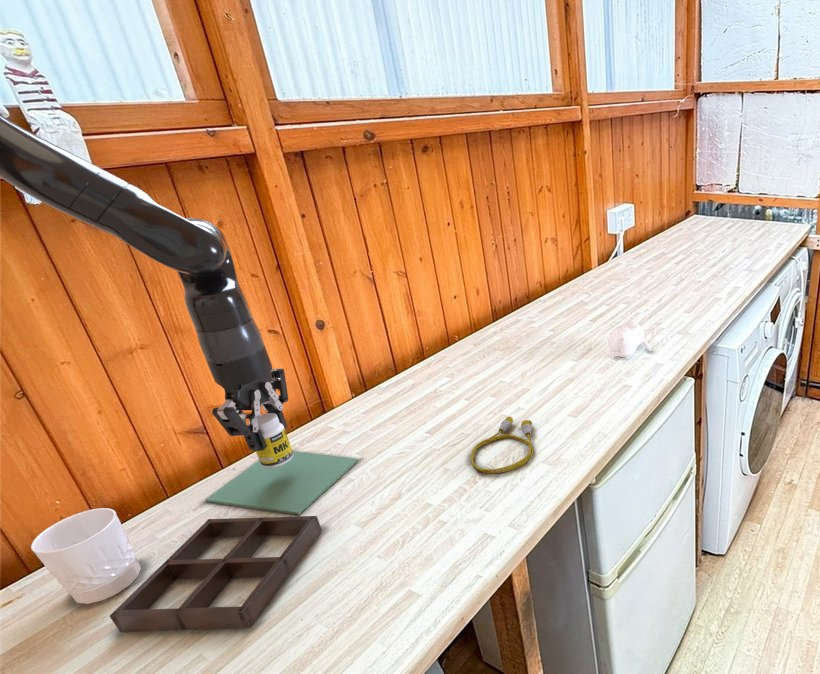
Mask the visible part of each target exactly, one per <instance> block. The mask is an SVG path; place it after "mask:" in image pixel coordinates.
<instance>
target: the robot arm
mask: <svg viewBox="0 0 820 674" xmlns="http://www.w3.org/2000/svg"><path fill="white" fill-rule="evenodd" d="M0 178H1V179H2V180H3V181H6V182H7V183H8V184H10V185H12V186H13V187H15V188H16V189H18V190H20V191H22V192H23V193H25V194H27V195H29V196H30V197H32V198H34V199H36V200H38V201H39V202H40V203H43V204H44V205H47V206H49V207H50V208H53V209H54V210H57V211H59V212H61V213H63V214H65V215H67V216H69V217H72V218H74V219H76V220H77V221H80V222H82V223H85V224H87V225H89V226H91V227H94V228H95V229H98V230H100V231H103V232H104V233H107V234H110V235H112V236H114V237H116V238H118V239H119V240H121V241H122V242H124V243H125V244H127V245H128V246H129V247H131V248H133V249H135V250H137V252H140V253H141V254H143V255H145V256H147V257H148V258H150V259H151V260H153V261H155V262H157V263H159V264H160V265H163V266H165V267H166V268H168V269H172V270H174V271H176V272H177V274H178V277H179V279H180V282H181V284H182V287H183V289H184V302H185V306H186V310H187V312H188V314H189V317H190V320H191V322H192V324H193V327H194V329H195V332H196V336H197V341H198V344H199V347H200V349H201V352H202V355H203V356H204V359H205V361H206V364H207V366H208V368H209V371H210V374H211V375H212V379H213V381H214V383H216V385H218V386H220V387H221V388H222V389H223V390H224V400H225V401H224V402H223V404H222V405H221V406H219V407H213V408H212V410H211V414H212V416H214V418H215V419H216V420H217V421H218V423H219V424H220V425H221V427H222V428H223V429H224V430H225V432H226V433H227V434H228V435H229V436H230V437H240V436H241V437H244V441H245V443H246V445H247V447H248V449H249V450H250V451H252V452H256V451H263V450H264V449H265V448H266V447H267V445H266V443H265V440H264V437H263V435H262V432H261V430H260V429H259V424H258V417H260V415H262V413H261V408H262V409H263V411H265V412H266V413H275V414H276V415H277V417H278V419H279V423H281V424H283V426H284V428H285V431H286V430H287V429H288V426H287V421H286V420H287V419H286V418H285V415H284V413H283V409H284V403H287V402H288V401H289V393H288V387H287V380H286V373H285V369H284V368H273V364H272V362H271V359H270V355H269V352H268V351H267V347H266V345H265V342H264V339H263V336H262V334H261V330H260V329H259V327H258V325H257V323H256V321H255V319H254V318H253V315H252V312H251V310H250V306H249V304H248V301H247V298H246V295H245V294H244V291H243V289H242V287H241V284H240V283H239V279H238V275H237V272H236V267H235V262H234V260H233V257H232V253H231V249H230V247H229V243H228V240H227V238H226V236H225V235H224V232H223V231H222V230H221V229H220V228H219V227H218V226H216V225H215V224H213V223H212V222H210V221H209V220H206V219H202V218H198V217H186V218H185V217H183V216H181V215H179V214H177V213H176V212H173V211H172V210H170V209H168V208H167V207H164V206H162V205H160V204H158V203H157V202H156V201H155V200H154V199H153V198H152V197H151V196H150V194H148V193H146V192H145V191H143V190H142V189H141V188H139V187H137V186H136V185H134V184H131V183H129V182H128V181H126V180H124V179H122V178H121V177H118V176H117V175H115V174H113V173H111V172H109V171H107V170H106V169H104V168H102V167H99V166H98V165H96V164H94V163H92V162H90V161H88V160H86V159H84V158H82V157H80V156H78V155H76V154H74V153H72V152H70V151H68V150H67V149H65V148H63V147H60V146H59V145H56V144H54V143H53V142H51V141H48V140H46V139H44V138H42V137H41V136H39V135H37V134H34V133H33V132H31V131H28V130H27V129H25V128H23V127H21V126H19V125H17V124H16V123H14V122H12V121H10V120H9V119H7V118H5V117H4V116H2V115H0ZM277 390H278V391H279V394H278V393H277ZM244 411H251V412H244ZM247 420H249V421H250V425H249V424H247Z"/></svg>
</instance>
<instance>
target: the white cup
mask: <svg viewBox="0 0 820 674" xmlns="http://www.w3.org/2000/svg"><path fill="white" fill-rule="evenodd" d="M30 549H31V551H32V552H33V554H34V555H35V556H36V557H37V559H38V560H39V561H40V562H41V563H42V564H43V566H44V567H45V569H46V570H47V572H49V573H50V575H52V577H53V578H54V579H55V580H56V582H58V584H59V585H60V586H61V587H62V588H63V589H65V590H66V591H67V592H68V593H69V595H70V596H71V597H72V598H73V600H74V601H75V602H76V604H83V605H84V604H85V605H90V604H94V603H97V602H98V603H99V602H102V601H105V600H106V599H109V598H111V597H113V596H116V595H117V594H119V593H120V592H122V591H124V590H125V589H126V588H128V587H129V586H131V585H132V583H133V582H135V580H136V579H137V578H139V575H140V572H141V570H142V568H141V565H140V564H139V561H138V559H137V557H136V555H135V551H134V548H133V546H132V543H131V540H130V538H129V537H128V535H127V533H126V530H125V528H124V527H123V524H122V523H121V520H120V518H119V516H118V514H117V512H116V510H114V509H113V508H109V507H100V508H99V507H98V508H93V509H88V510H84V511H81V512H78V513H75V514H72V515H70V516H68V517H65V518H63V519H61V520H59V521H57V522H55V523H53V524H52V525H50V526H48V527H47V528H45V529H44V530H43V531H41V533H39V534H38V535H37V536H36V537H35V538H34V539H33V541H32V542H31V544H30Z"/></svg>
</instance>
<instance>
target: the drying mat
mask: <svg viewBox="0 0 820 674" xmlns="http://www.w3.org/2000/svg"><path fill="white" fill-rule="evenodd" d="M292 451H293V457H292V459H291V460H290V461H289V462H287V463H285V464H284V465H281V466H278V467H274V468H265V467H263V466H262V465H261V463H260V461H259V460H258V461H256V462H254V463H253V464H252V465H250V466H249V467H248V468H247V469H245V470H244V471H242V472H241V473H240V474H239V475H237V476H235V477H234V478H233V479H231V480H230V481H229V482H227V483H226V484H225V485H223V486H222V487H221V488H219V489H217V490H216V491H215V492H214V493H212V494H211V495H209V496H208V497H207V498H205V502H206V503H213V504H220V505H227V506H234V507H240V508H241V507H242V508H247V509H254V510H261V511H262V510H263V511H268V512H276V513H282V514H290V515H296V516H298V515H299V516H300V515H301V514H302V513H303V511H305V510H306V509H307V508H308V507H309V506H310V505H311V504H313V503H314V502H315V501H316V500H317V499H318V498H319V497H320V496H321V495H323V493H325V492H326V491H327V490H328V489H330V487H332V486H333V484H335V483H336V482H337V481H338V480H339V479H340V478H341V477H342V476H343V475H344V474H346V473H347V472H348V471H349V470H350V469H351V468H353V466H355V465H356V463H358V462H359V459H358V458H353V457H346V456H345V457H344V456H337V455H336V456H335V455H328V454H319V453H311V452H301V451H294V450H292Z"/></svg>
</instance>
